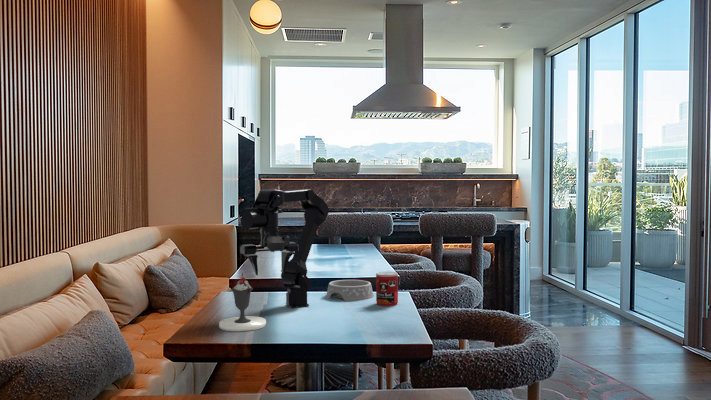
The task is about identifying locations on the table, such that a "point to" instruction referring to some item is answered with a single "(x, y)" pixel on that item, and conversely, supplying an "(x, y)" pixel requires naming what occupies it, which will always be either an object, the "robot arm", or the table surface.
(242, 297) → the sundae
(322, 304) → the table surface
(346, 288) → the dog bowl
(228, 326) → the saucer
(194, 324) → the table surface
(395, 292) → the canned food
